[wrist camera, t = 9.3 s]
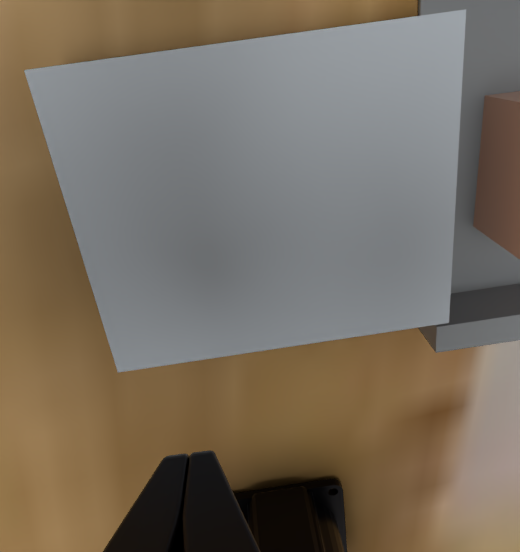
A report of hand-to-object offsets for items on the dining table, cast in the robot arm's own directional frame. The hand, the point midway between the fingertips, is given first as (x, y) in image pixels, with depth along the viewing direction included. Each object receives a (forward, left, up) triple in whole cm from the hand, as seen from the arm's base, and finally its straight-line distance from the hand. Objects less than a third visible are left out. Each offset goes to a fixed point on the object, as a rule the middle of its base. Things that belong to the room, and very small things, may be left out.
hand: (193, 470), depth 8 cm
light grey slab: (+1, -2, -12) cm, 12 cm away
